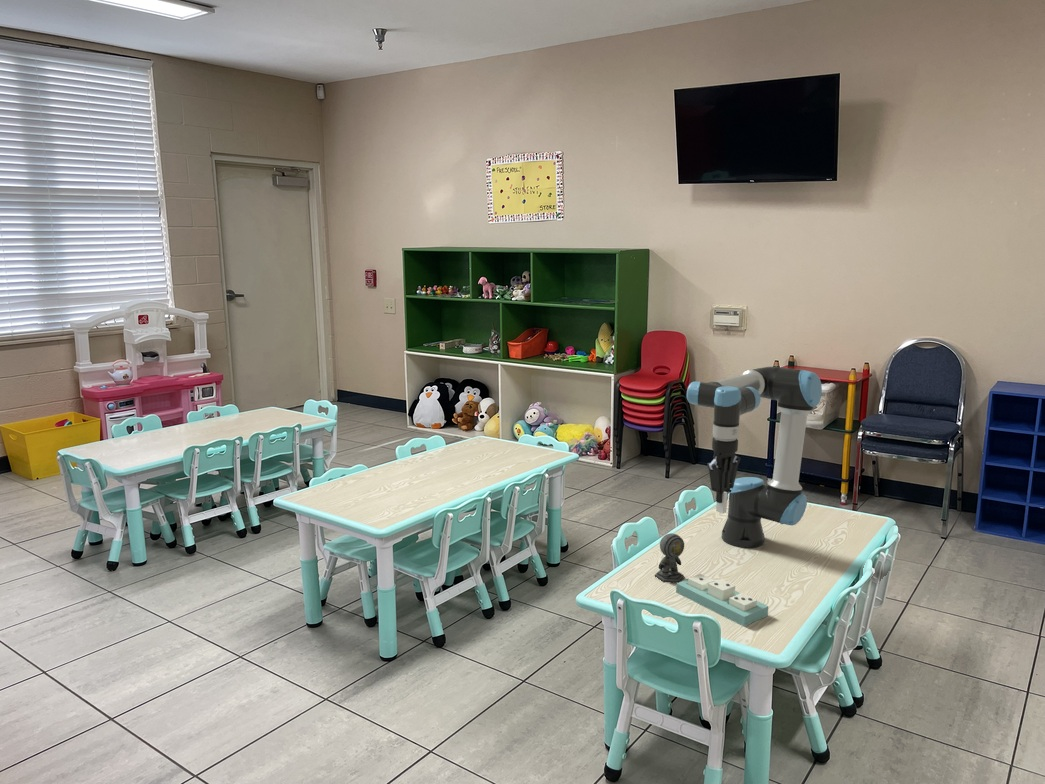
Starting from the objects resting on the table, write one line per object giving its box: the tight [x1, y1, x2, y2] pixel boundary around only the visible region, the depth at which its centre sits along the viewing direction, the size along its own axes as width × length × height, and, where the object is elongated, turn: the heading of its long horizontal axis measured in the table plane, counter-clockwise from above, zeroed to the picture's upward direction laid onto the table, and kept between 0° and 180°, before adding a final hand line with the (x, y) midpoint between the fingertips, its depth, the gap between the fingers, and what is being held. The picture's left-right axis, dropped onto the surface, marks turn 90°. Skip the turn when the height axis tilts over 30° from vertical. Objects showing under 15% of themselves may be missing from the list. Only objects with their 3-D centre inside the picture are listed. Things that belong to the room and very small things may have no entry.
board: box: [675, 579, 769, 627], centre depth 236 cm, size 26×11×3 cm, turn 36°
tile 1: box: [688, 573, 715, 591], centre depth 242 cm, size 6×6×4 cm
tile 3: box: [729, 592, 758, 612], centre depth 229 cm, size 6×6×4 cm
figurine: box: [654, 532, 685, 584], centre depth 252 cm, size 9×10×15 cm
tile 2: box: [708, 578, 736, 601], centre depth 235 cm, size 6×6×4 cm
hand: (721, 511), depth 239 cm, fingers closed
